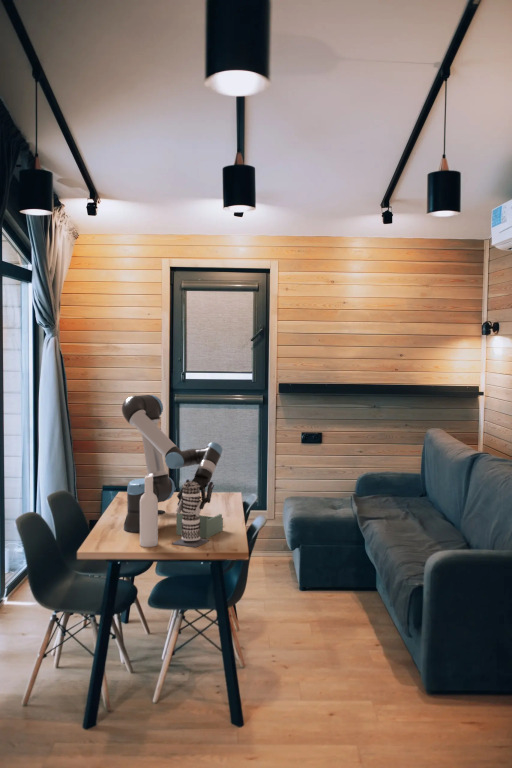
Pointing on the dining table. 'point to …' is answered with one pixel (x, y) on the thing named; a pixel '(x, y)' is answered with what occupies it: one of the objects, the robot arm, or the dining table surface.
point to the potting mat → (190, 542)
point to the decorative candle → (190, 511)
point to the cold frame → (203, 525)
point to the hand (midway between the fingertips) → (187, 513)
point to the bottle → (148, 515)
